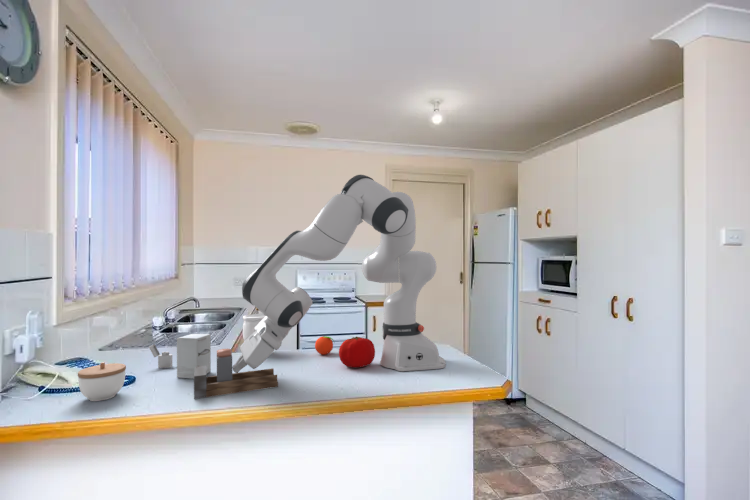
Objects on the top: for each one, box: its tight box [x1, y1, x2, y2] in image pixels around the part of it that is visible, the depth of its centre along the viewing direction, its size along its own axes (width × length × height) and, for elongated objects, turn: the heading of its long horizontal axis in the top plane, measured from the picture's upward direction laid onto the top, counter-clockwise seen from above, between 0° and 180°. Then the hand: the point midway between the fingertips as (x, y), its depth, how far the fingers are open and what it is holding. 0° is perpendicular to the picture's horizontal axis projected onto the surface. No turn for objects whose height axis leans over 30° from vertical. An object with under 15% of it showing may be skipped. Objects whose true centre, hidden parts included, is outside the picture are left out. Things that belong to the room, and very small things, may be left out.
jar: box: [242, 313, 265, 343], centre depth 150 cm, size 11×10×15 cm
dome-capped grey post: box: [216, 348, 233, 382], centre depth 110 cm, size 4×5×9 cm
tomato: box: [338, 336, 376, 369], centre depth 131 cm, size 11×13×10 cm
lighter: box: [148, 344, 173, 369], centre depth 133 cm, size 7×2×8 cm, turn 96°
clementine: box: [314, 335, 335, 356], centre depth 148 cm, size 8×7×7 cm
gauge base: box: [193, 366, 279, 400], centre depth 112 cm, size 22×10×6 cm, turn 113°
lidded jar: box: [77, 361, 127, 402], centre depth 105 cm, size 11×11×9 cm
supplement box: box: [176, 333, 212, 380], centre depth 124 cm, size 7×7×13 cm
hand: (234, 370), depth 111 cm, fingers closed
